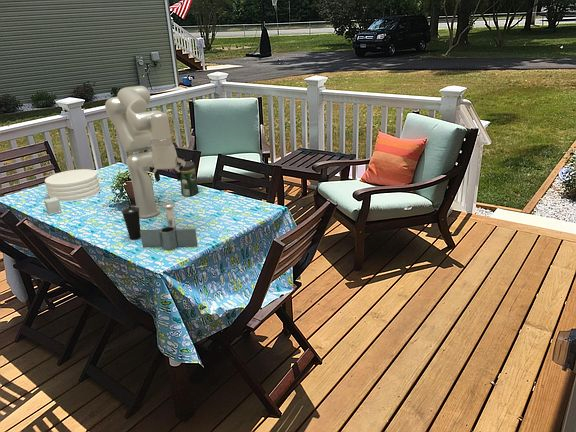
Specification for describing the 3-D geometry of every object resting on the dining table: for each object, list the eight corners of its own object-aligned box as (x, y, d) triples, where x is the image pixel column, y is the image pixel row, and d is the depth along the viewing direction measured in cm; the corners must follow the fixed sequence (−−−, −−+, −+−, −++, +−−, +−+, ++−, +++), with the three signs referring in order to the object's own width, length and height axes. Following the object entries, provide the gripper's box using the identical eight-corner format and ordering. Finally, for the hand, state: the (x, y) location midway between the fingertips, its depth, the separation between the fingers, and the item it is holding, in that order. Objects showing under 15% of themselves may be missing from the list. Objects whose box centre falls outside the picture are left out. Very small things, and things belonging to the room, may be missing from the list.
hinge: (140, 250, 202) (137, 233, 199) (145, 243, 209) (142, 227, 206) (195, 249, 201) (193, 232, 198) (199, 242, 207) (197, 225, 204)
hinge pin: (166, 237, 214) (161, 206, 208) (169, 232, 219) (164, 202, 213) (177, 237, 213) (172, 206, 208) (180, 232, 218) (176, 202, 213)
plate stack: (89, 202, 263) (85, 183, 259) (40, 204, 264) (35, 185, 260) (108, 186, 289) (104, 168, 285) (63, 188, 290) (58, 170, 285)
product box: (62, 212, 250) (59, 199, 247) (49, 215, 246) (46, 202, 244) (59, 209, 254) (55, 196, 252) (46, 212, 251) (43, 199, 248)
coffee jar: (189, 190, 274) (185, 159, 267) (200, 192, 271) (196, 160, 264) (179, 196, 266) (174, 164, 259) (190, 197, 263) (186, 165, 256)
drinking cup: (128, 234, 219) (121, 194, 211) (145, 233, 219) (138, 192, 211) (124, 241, 212) (116, 199, 204) (142, 240, 212) (134, 198, 204)
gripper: (140, 145, 200) (146, 183, 206) (179, 143, 198) (185, 182, 204) (146, 141, 207) (153, 178, 213) (184, 139, 205) (190, 177, 211)
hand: (168, 180), depth 209 cm, fingers open, 9 cm apart
